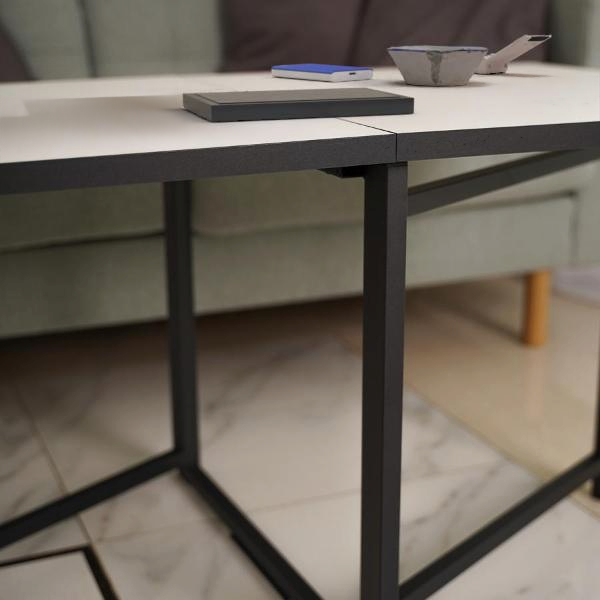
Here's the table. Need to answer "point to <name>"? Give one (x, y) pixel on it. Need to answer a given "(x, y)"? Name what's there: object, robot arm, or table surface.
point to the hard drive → (322, 72)
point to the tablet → (296, 104)
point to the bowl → (437, 64)
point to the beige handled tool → (508, 54)
